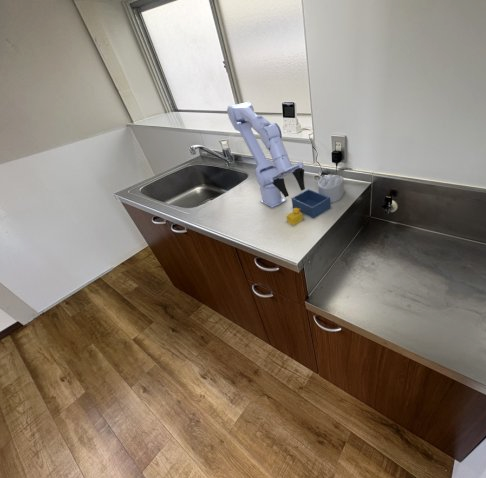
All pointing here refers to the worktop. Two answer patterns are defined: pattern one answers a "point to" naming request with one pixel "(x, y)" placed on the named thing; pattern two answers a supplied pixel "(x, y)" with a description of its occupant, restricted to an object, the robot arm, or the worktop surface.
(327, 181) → the lumpy-topped squat cylinder
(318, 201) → the open box
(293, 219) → the duck
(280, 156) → the robot arm
